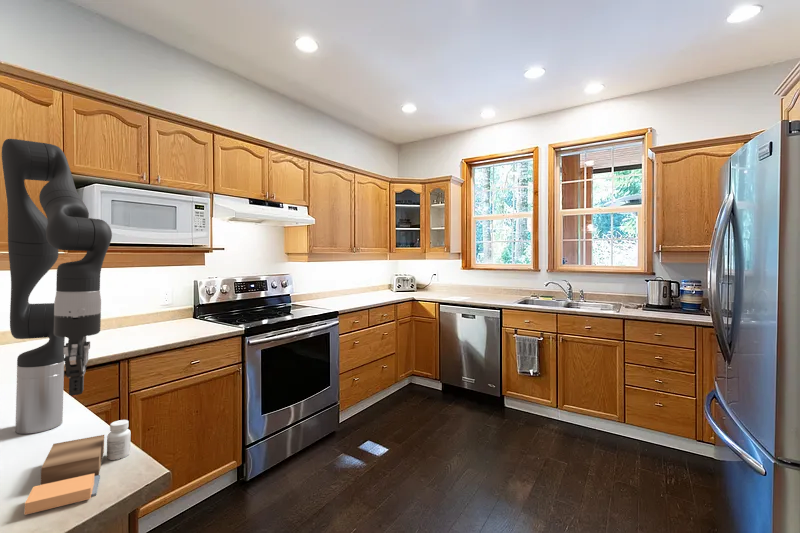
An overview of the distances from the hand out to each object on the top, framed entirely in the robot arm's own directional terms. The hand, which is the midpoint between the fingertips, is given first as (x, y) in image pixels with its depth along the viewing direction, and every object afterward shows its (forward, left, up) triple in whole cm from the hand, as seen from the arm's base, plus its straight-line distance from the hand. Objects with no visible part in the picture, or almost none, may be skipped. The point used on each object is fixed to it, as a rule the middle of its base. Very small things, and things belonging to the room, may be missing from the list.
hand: (76, 393), depth 80 cm
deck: (-3, 0, -17) cm, 17 cm away
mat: (+7, +1, -17) cm, 19 cm away
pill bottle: (-5, +7, -17) cm, 19 cm away
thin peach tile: (+10, -1, -15) cm, 18 cm away
